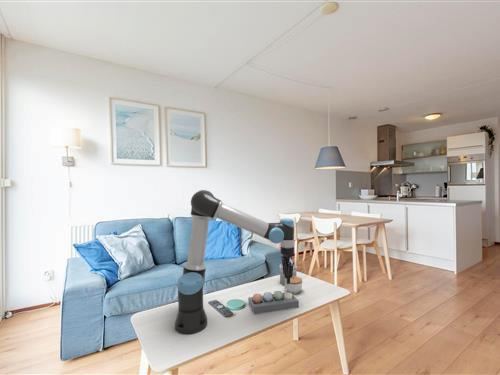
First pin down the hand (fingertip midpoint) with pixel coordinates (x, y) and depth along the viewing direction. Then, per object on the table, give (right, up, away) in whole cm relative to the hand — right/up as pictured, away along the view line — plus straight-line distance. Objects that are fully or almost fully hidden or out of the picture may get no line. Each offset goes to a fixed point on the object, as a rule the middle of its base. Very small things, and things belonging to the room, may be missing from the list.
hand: (287, 288), depth 142 cm
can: (+5, -8, +28) cm, 30 cm away
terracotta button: (-17, -5, -4) cm, 18 cm away
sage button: (-5, -5, -1) cm, 7 cm away
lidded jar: (+6, -8, +15) cm, 18 cm away
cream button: (0, -7, 0) cm, 7 cm away
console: (-8, -8, -2) cm, 12 cm away
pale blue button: (-11, -5, -3) cm, 13 cm away
